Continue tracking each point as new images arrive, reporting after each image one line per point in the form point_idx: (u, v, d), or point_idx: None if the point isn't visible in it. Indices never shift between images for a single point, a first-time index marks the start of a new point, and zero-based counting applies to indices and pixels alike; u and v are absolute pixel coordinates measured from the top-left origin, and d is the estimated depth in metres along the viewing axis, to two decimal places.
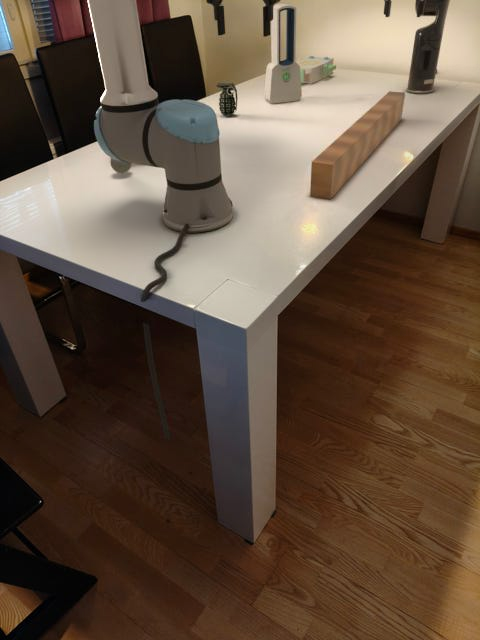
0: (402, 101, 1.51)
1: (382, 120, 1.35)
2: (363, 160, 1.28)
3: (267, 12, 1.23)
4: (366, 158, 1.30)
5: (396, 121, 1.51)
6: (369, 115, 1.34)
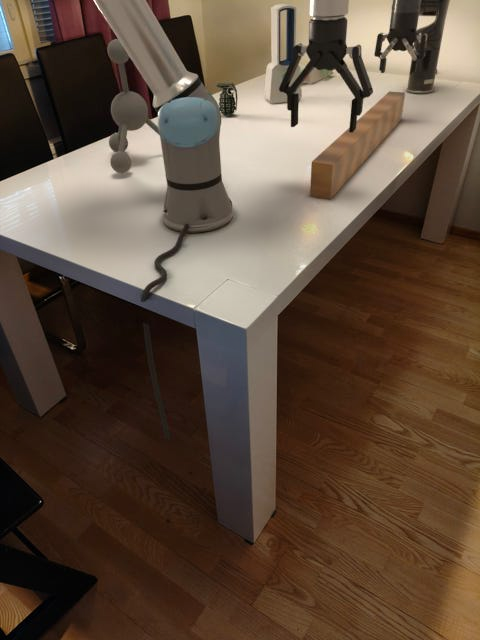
0: (402, 101, 1.51)
1: (382, 120, 1.35)
2: (363, 160, 1.28)
3: (356, 105, 1.03)
4: (366, 158, 1.30)
5: (396, 121, 1.51)
6: (369, 115, 1.34)
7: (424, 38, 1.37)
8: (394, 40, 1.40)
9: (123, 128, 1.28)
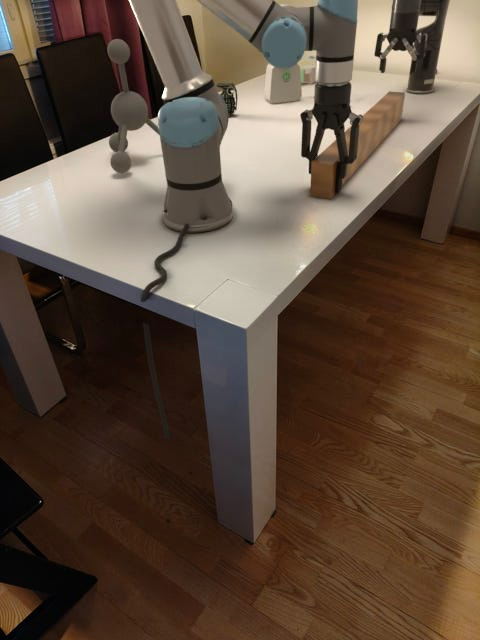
0: (402, 101, 1.51)
1: (382, 120, 1.35)
2: (363, 160, 1.28)
3: (341, 170, 1.10)
4: (366, 158, 1.30)
5: (396, 121, 1.51)
6: (369, 115, 1.34)
7: (424, 38, 1.37)
8: (394, 40, 1.40)
9: (123, 128, 1.28)
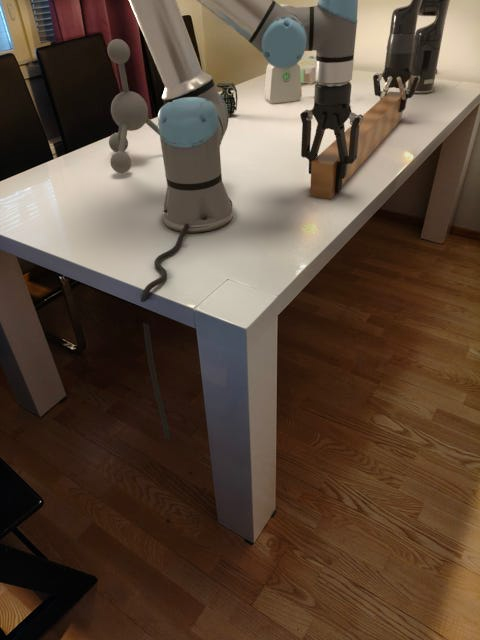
0: None
1: (382, 120, 1.35)
2: (363, 160, 1.28)
3: (341, 170, 1.10)
4: (366, 158, 1.30)
5: (396, 121, 1.51)
6: (369, 115, 1.34)
7: (416, 80, 1.44)
8: (389, 78, 1.46)
9: (123, 128, 1.28)
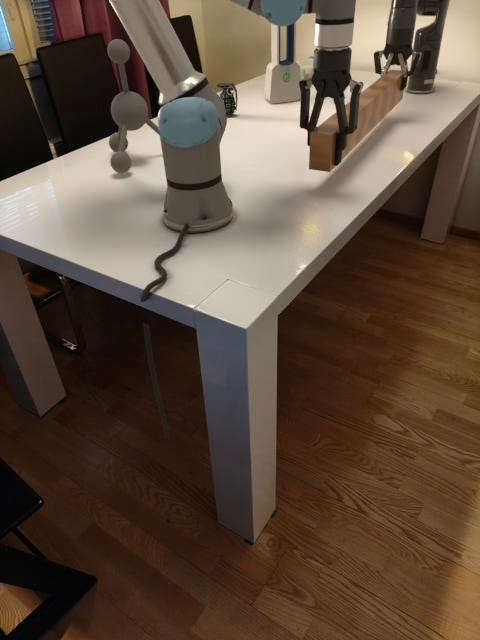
0: None
1: (383, 96, 1.32)
2: (363, 135, 1.25)
3: (341, 141, 1.07)
4: (366, 134, 1.27)
5: (397, 100, 1.48)
6: (370, 91, 1.31)
7: (418, 57, 1.40)
8: (390, 55, 1.43)
9: (123, 128, 1.28)
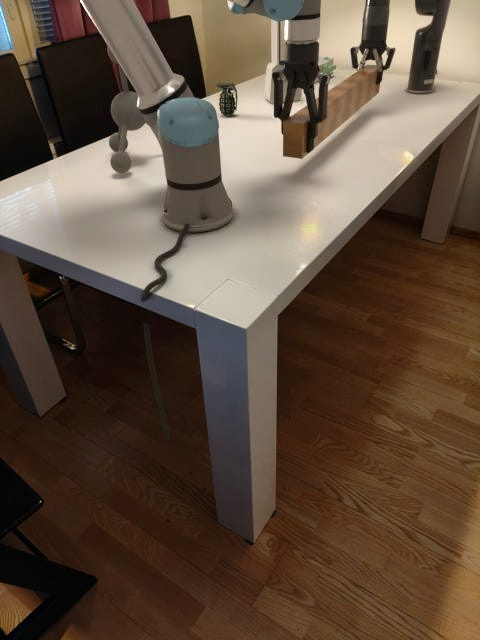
0: None
1: (357, 89, 1.39)
2: (337, 126, 1.32)
3: (312, 129, 1.14)
4: None
5: (373, 93, 1.55)
6: (344, 84, 1.38)
7: (392, 52, 1.48)
8: (365, 51, 1.50)
9: (123, 128, 1.28)
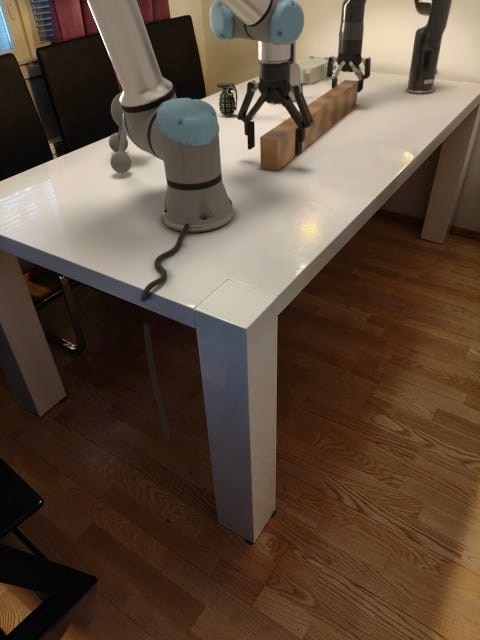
0: (356, 88, 1.66)
1: (333, 104, 1.50)
2: (313, 139, 1.43)
3: (300, 134, 1.21)
4: None
5: (350, 107, 1.66)
6: (321, 100, 1.49)
7: (367, 61, 1.57)
8: (342, 63, 1.60)
9: (123, 128, 1.28)
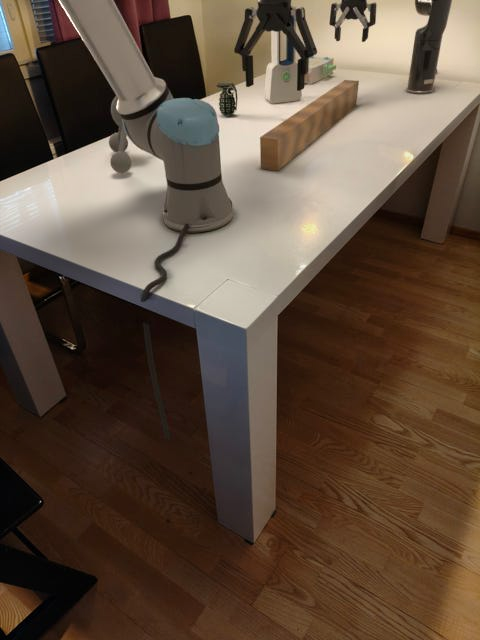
0: (356, 88, 1.66)
1: (333, 104, 1.50)
2: (313, 139, 1.43)
3: (302, 65, 1.12)
4: None
5: (350, 107, 1.66)
6: (321, 100, 1.49)
7: (373, 6, 1.48)
8: (346, 9, 1.51)
9: (123, 128, 1.28)
